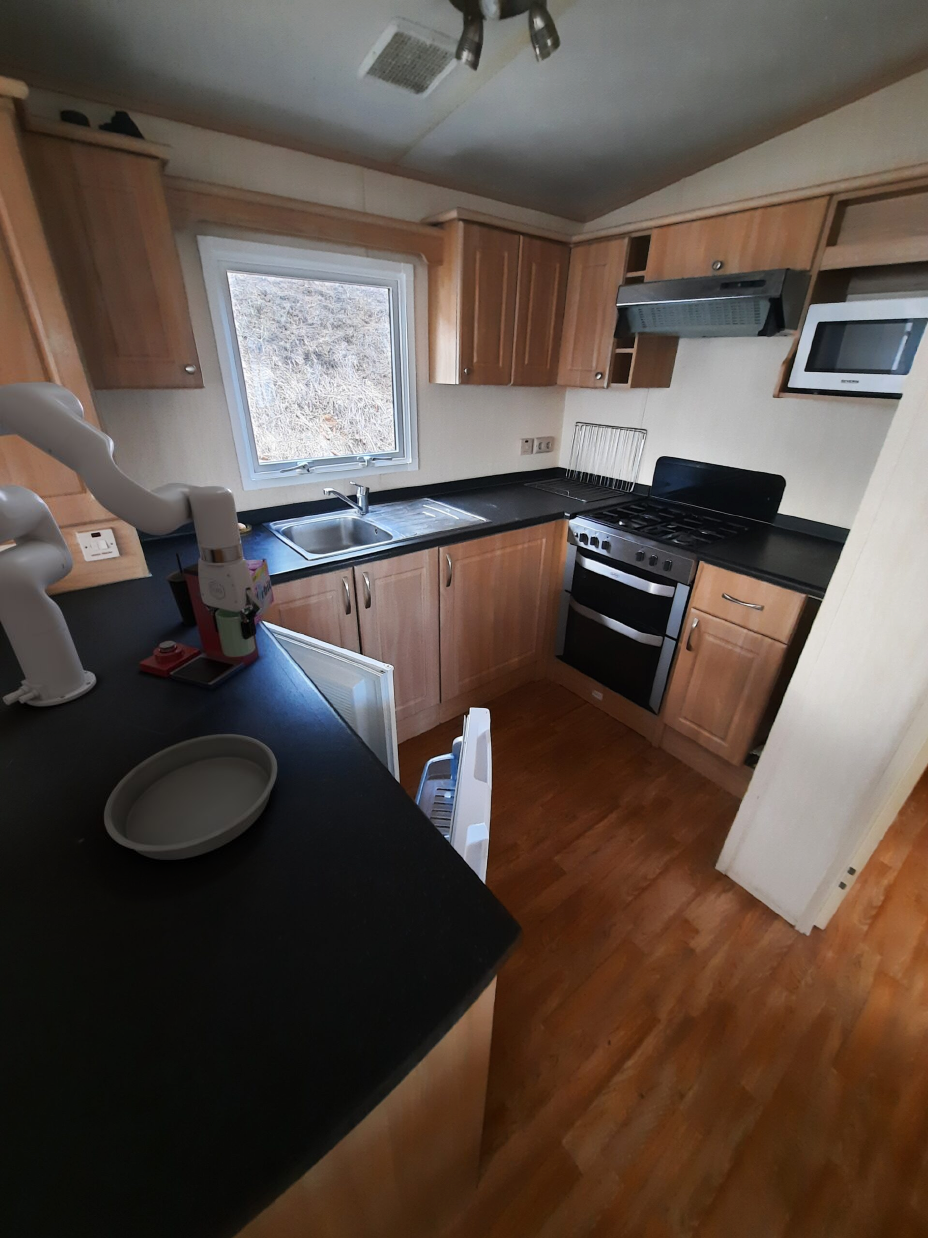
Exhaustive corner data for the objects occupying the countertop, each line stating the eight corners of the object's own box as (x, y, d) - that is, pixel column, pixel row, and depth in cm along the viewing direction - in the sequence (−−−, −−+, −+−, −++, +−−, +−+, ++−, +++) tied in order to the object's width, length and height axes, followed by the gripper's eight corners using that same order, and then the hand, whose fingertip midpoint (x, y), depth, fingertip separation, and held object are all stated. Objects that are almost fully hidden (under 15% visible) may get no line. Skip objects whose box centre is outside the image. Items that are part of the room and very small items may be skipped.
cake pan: (168, 750, 94) (162, 731, 92) (300, 755, 93) (297, 735, 91) (72, 868, 72) (61, 845, 69) (244, 875, 71) (238, 852, 69)
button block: (167, 677, 115) (163, 662, 113) (141, 670, 118) (136, 656, 116) (201, 657, 124) (198, 642, 122) (176, 651, 126) (173, 636, 124)
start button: (168, 655, 117) (166, 648, 116) (157, 652, 118) (155, 645, 117) (179, 648, 120) (177, 642, 119) (169, 646, 121) (167, 639, 120)
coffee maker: (212, 690, 111) (189, 593, 101) (170, 678, 115) (143, 584, 105) (260, 657, 124) (243, 568, 114) (220, 648, 128) (200, 561, 117)
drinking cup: (196, 629, 136) (179, 558, 128) (171, 626, 138) (153, 556, 129) (214, 617, 143) (199, 549, 134) (190, 614, 145) (174, 547, 136)
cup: (240, 659, 105) (233, 620, 101) (216, 653, 106) (208, 614, 102) (261, 645, 110) (255, 608, 106) (238, 639, 112) (231, 602, 108)
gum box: (250, 598, 155) (242, 556, 149) (276, 598, 155) (269, 556, 149) (218, 635, 133) (208, 588, 127) (249, 635, 134) (240, 588, 128)
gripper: (171, 551, 98) (190, 632, 106) (243, 565, 93) (257, 649, 101) (202, 540, 104) (217, 618, 112) (271, 553, 99) (282, 633, 107)
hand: (236, 632), depth 106 cm, fingers closed on cup, 6 cm apart
